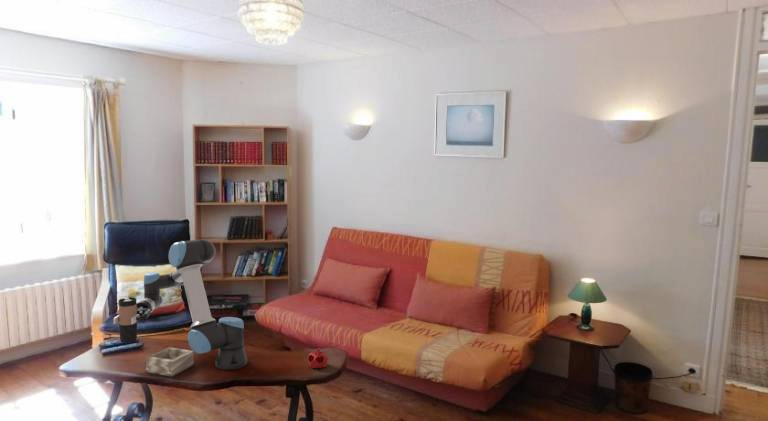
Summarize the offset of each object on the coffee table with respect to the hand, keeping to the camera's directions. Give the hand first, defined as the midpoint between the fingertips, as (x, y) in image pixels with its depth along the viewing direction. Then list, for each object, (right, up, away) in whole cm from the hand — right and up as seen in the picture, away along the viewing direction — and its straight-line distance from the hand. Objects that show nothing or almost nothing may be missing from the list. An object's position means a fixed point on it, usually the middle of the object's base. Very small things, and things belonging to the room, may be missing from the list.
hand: (123, 321), depth 236 cm
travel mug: (0, -11, +6) cm, 12 cm away
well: (+19, -25, +8) cm, 32 cm away
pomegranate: (+89, -26, +15) cm, 94 cm away
